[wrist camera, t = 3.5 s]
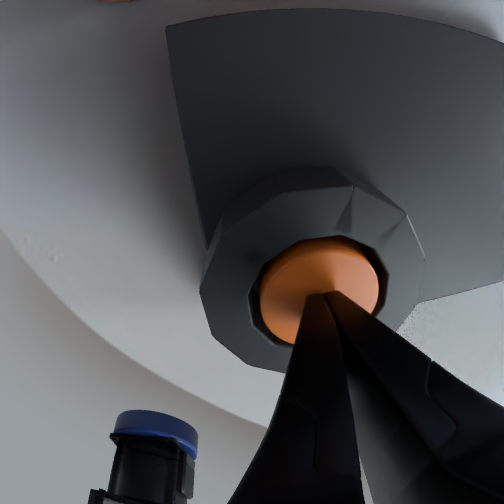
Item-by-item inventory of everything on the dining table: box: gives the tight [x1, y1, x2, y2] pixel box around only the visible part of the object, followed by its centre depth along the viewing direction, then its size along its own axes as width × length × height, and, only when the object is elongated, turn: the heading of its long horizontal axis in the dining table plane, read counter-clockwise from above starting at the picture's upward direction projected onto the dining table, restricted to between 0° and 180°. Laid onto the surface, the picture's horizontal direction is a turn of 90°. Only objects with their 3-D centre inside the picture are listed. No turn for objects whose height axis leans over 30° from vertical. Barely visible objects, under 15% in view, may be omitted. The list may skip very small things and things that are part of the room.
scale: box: [165, 8, 504, 373], centre depth 8 cm, size 13×11×4 cm
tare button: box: [258, 235, 379, 344], centre depth 8 cm, size 3×3×2 cm
